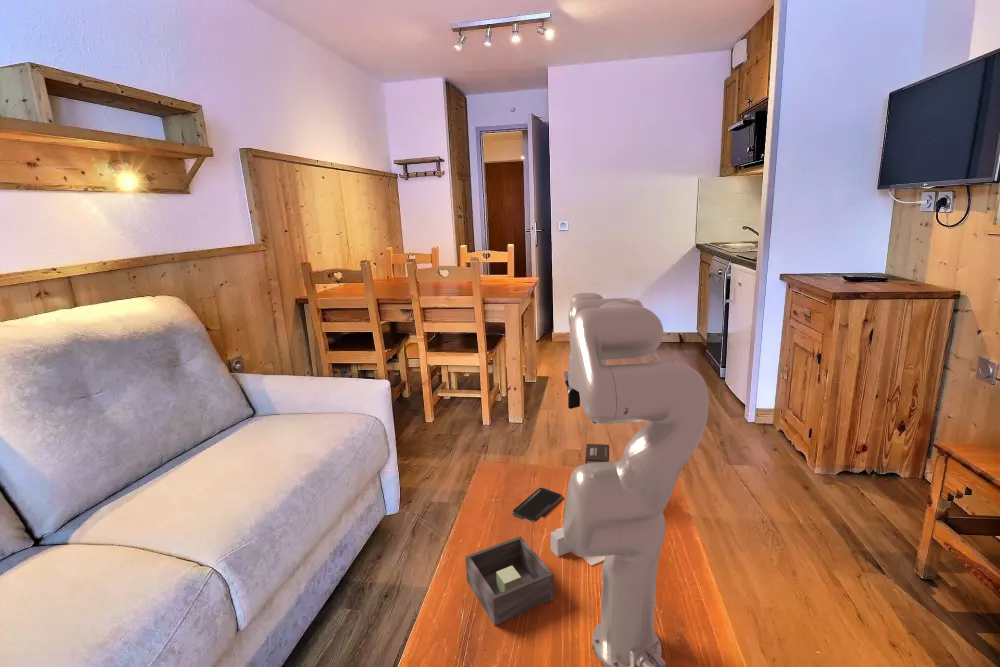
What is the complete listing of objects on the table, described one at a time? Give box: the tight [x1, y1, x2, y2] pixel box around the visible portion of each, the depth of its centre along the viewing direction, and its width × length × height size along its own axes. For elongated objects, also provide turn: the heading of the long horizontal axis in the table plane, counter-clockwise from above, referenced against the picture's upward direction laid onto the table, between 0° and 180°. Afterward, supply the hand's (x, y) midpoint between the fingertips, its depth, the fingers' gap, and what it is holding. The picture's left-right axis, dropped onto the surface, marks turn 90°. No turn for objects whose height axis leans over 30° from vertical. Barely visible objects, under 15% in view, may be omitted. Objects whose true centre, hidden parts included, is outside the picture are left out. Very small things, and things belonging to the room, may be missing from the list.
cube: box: [496, 566, 521, 593], centre depth 107 cm, size 4×4×4 cm
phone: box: [512, 487, 563, 523], centre depth 138 cm, size 8×1×15 cm
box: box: [465, 535, 555, 626], centre depth 107 cm, size 14×14×7 cm
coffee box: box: [584, 443, 610, 464], centre depth 136 cm, size 9×6×16 cm
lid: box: [550, 526, 606, 567], centre depth 120 cm, size 15×15×6 cm
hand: (585, 414), depth 119 cm, fingers open, 9 cm apart
